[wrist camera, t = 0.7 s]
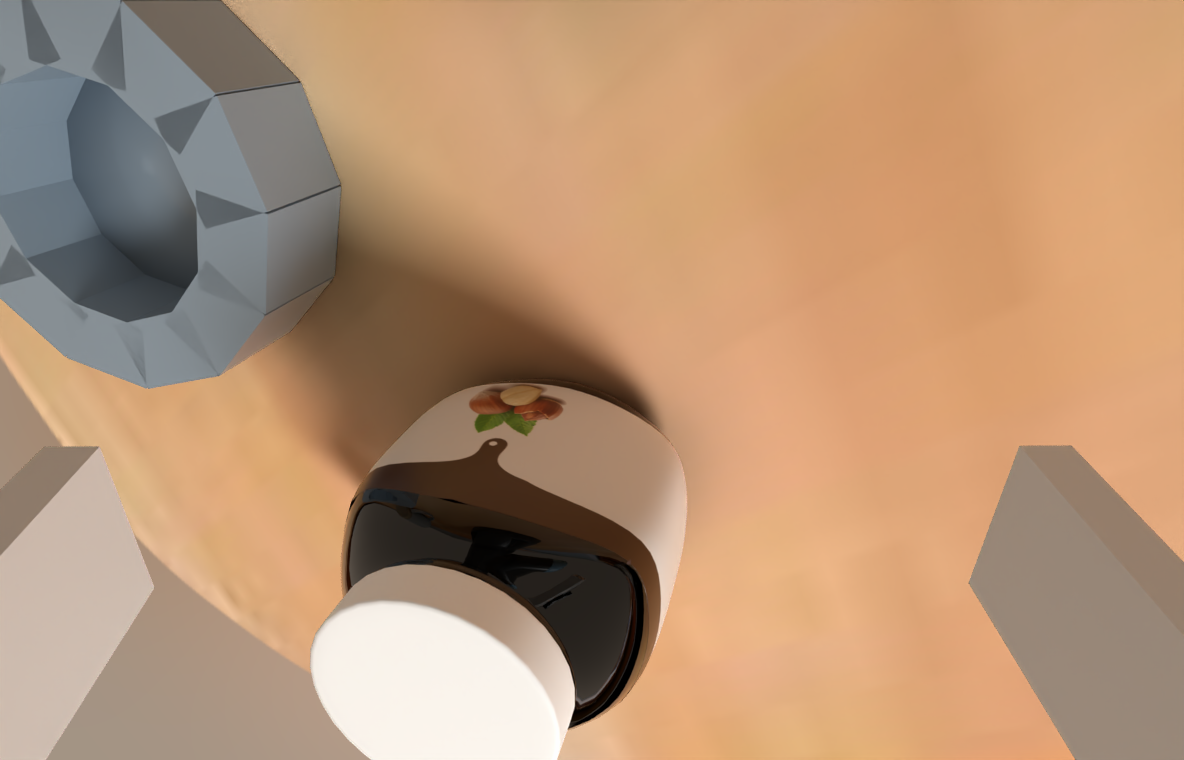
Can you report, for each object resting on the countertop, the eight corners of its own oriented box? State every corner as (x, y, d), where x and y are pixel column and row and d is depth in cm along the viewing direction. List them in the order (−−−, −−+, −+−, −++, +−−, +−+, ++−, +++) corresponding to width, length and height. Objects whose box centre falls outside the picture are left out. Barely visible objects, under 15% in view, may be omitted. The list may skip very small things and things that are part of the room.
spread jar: (716, 405, 26) (646, 657, 16) (666, 640, 32) (591, 938, 22) (400, 334, 29) (167, 515, 18) (403, 563, 34) (224, 801, 24)
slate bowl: (6, -66, 26) (-121, -76, 22) (351, 39, 24) (271, 46, 21) (52, 282, 32) (-42, 316, 29) (327, 384, 30) (263, 433, 27)
